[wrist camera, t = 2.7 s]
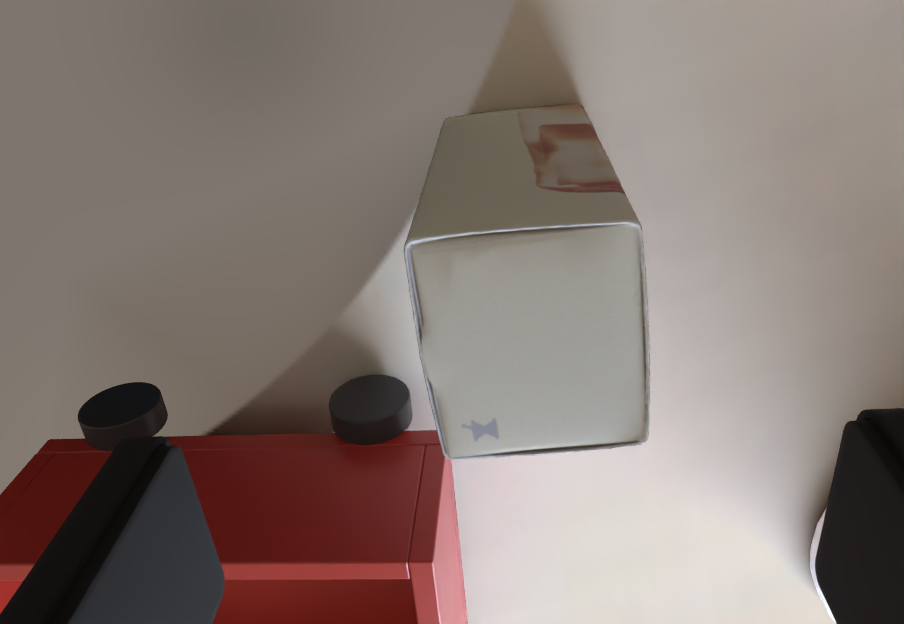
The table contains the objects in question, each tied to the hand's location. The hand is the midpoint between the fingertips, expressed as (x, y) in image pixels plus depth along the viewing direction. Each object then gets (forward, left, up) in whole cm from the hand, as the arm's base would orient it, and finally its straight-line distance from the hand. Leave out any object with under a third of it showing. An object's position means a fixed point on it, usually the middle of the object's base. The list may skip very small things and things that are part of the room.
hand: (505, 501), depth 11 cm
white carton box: (-1, 0, -14) cm, 14 cm away
